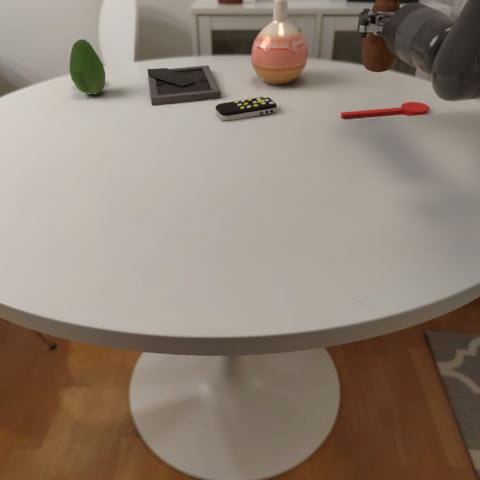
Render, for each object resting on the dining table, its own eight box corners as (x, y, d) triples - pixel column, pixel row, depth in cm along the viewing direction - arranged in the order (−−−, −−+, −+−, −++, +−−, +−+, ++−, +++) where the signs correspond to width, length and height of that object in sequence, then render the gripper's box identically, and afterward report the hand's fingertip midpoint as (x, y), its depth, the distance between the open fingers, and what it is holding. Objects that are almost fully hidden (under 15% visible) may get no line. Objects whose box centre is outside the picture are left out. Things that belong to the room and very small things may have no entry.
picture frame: (148, 77, 120) (152, 105, 104) (147, 69, 118) (150, 96, 103) (208, 71, 122) (221, 98, 106) (208, 63, 120) (220, 89, 105)
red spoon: (421, 105, 99) (422, 100, 98) (432, 115, 95) (433, 110, 94) (337, 112, 97) (338, 107, 97) (345, 122, 93) (346, 117, 93)
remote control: (214, 112, 100) (213, 103, 98) (268, 103, 103) (268, 94, 101) (222, 122, 95) (222, 112, 94) (278, 113, 98) (279, 103, 97)
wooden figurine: (354, 65, 86) (366, -30, 77) (383, 63, 87) (399, -32, 77) (368, 76, 81) (383, -25, 72) (399, 73, 82) (418, -27, 72)
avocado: (100, 86, 115) (89, 33, 107) (114, 94, 111) (103, 39, 103) (70, 94, 112) (56, 39, 104) (83, 102, 107) (69, 46, 99)
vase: (240, 81, 115) (237, 0, 103) (278, 69, 121) (279, -9, 110) (279, 94, 107) (281, 7, 95) (317, 80, 114) (323, -3, 102)
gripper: (473, 4, 66) (422, -14, 79) (378, 10, 65) (341, -9, 78) (458, 60, 71) (412, 35, 84) (370, 67, 70) (337, 40, 83)
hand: (378, 14), depth 81 cm, fingers closed on wooden figurine, 4 cm apart
